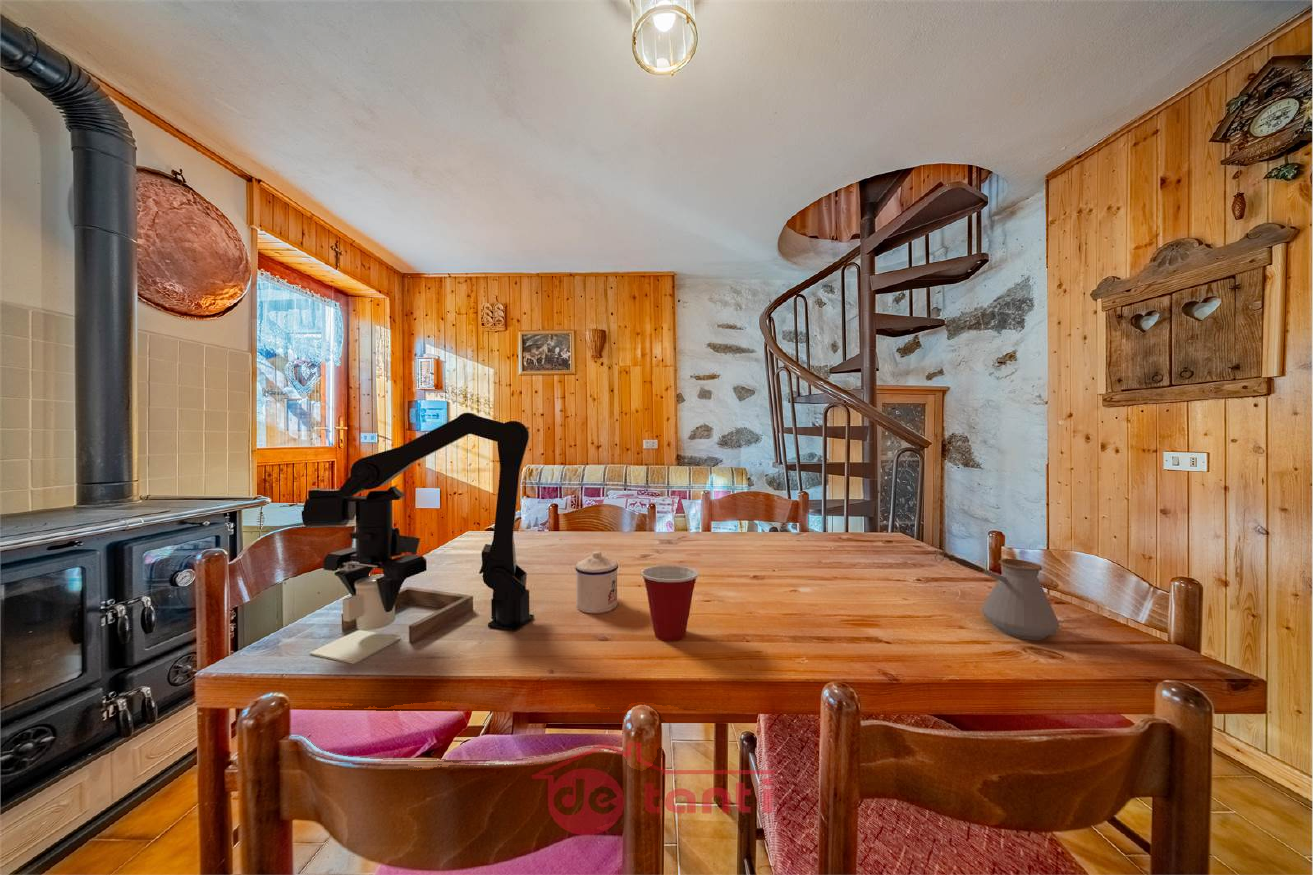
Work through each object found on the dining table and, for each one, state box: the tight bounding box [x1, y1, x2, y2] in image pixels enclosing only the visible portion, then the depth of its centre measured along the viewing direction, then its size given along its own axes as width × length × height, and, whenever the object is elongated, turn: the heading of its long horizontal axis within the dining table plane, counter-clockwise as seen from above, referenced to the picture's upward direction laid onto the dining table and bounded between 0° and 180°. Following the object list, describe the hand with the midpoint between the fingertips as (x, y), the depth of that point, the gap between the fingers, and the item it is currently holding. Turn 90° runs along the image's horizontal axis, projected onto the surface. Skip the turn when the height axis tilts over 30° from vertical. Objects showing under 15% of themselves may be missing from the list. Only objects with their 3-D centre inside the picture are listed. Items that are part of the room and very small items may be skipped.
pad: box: [309, 629, 402, 665], centre depth 79 cm, size 10×9×1 cm
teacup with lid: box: [575, 550, 619, 614], centre depth 99 cm, size 12×9×12 cm
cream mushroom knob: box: [342, 573, 396, 631], centre depth 82 cm, size 9×6×8 cm
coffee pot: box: [934, 551, 1060, 641], centre depth 86 cm, size 21×12×15 cm, turn 89°
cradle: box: [341, 586, 474, 644], centre depth 90 cm, size 17×15×3 cm
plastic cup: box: [640, 565, 700, 642], centre depth 84 cm, size 11×11×12 cm
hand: (375, 609), depth 83 cm, fingers closed on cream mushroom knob, 6 cm apart
